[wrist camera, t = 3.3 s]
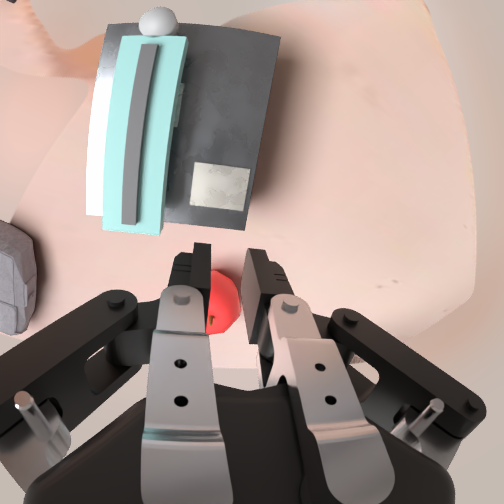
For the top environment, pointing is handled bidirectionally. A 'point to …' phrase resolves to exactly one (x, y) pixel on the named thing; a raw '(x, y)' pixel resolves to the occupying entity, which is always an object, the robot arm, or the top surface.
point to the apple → (222, 304)
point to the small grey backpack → (16, 279)
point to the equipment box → (200, 123)
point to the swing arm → (142, 124)
